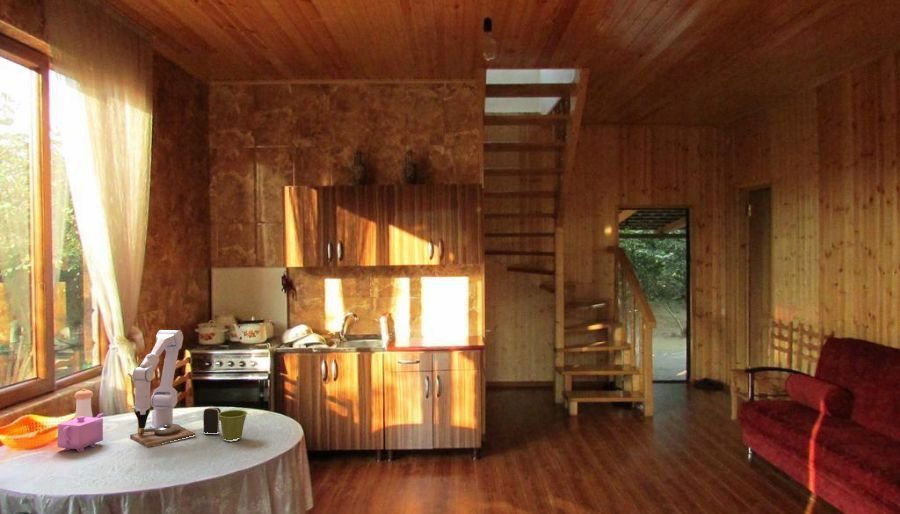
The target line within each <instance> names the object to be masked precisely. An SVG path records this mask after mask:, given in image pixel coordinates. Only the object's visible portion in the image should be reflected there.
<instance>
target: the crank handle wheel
mask: <svg viewBox="0 0 900 514" xmlns="http://www.w3.org/2000/svg"><path fill="white" fill-rule="evenodd" d="M179 431H180V424H176V423H173V424H164V425H160V426H157V427H155V428H151V427H149V428H139V425H138V424H137V433H138V435H143V434H144V432H154V434H155V435H171V434H175V433H177V432H179Z"/></svg>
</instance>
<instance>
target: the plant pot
mask: <svg viewBox="0 0 900 514" xmlns="http://www.w3.org/2000/svg"><path fill="white" fill-rule="evenodd" d="M247 415H248V411H246V410H243V409H231V410H224V411H221V413H219V414H218V416H219V417H220V420H219V422H220V426H221V433H222V434H221V435H222V440H223V439H226V440H233V439H237V438H240V437H241V436H243V430H244V426H245V420H246V417H247ZM241 438H242V437H241Z"/></svg>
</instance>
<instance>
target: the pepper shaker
mask: <svg viewBox="0 0 900 514" xmlns="http://www.w3.org/2000/svg"><path fill="white" fill-rule="evenodd" d="M93 396H94V393H93V391H92V390H89V389H87V388H82V389H81V390H78V391H76V392H75V393H74V396H73V397H74V399H75V400H76V401H75V403H76V406H75V407H76V408H75V414H74V419H76V418H77V417H79V416H85V417H93V411H92V398H93Z"/></svg>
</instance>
